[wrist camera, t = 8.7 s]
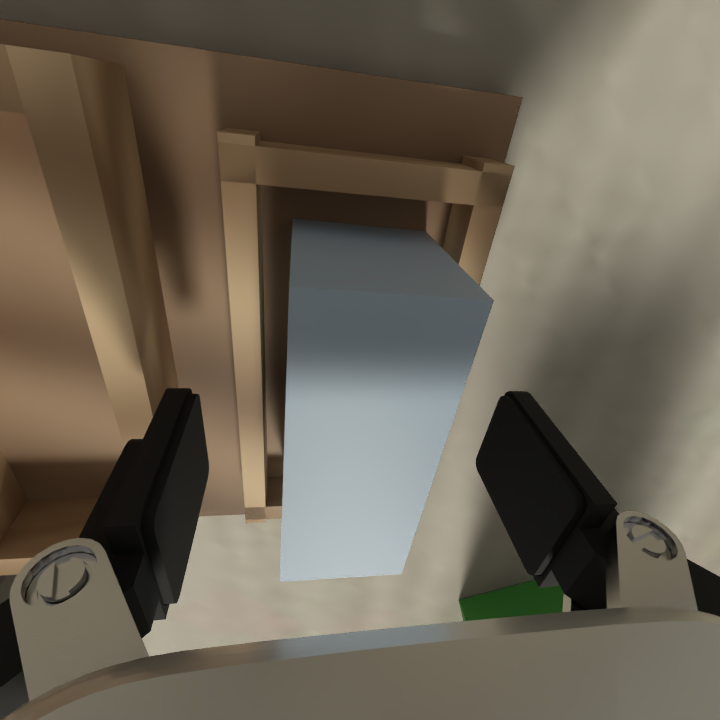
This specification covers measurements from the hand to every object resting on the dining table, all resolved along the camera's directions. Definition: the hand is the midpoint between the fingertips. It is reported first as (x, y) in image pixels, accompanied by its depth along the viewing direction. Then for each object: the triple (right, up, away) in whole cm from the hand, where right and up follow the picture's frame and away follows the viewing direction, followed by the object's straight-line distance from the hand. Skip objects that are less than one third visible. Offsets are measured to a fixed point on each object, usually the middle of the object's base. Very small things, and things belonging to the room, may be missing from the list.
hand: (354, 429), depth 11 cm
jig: (-6, +3, +3) cm, 7 cm away
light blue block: (0, +2, +3) cm, 3 cm away
